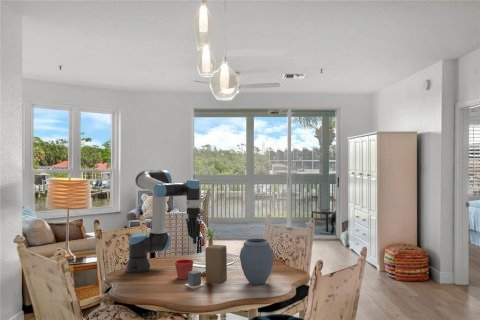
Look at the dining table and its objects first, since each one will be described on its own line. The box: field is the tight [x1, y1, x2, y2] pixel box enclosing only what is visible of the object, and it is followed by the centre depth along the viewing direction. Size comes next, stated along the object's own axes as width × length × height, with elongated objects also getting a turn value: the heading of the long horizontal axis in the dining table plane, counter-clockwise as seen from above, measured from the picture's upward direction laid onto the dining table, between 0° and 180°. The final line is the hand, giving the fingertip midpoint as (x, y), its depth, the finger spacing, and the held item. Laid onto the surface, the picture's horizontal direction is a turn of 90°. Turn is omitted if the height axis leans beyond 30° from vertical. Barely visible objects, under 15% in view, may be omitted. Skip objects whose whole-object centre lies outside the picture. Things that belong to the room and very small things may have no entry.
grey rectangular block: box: [187, 270, 202, 286], centre depth 234 cm, size 5×5×7 cm
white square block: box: [184, 282, 206, 289], centre depth 234 cm, size 8×8×7 cm
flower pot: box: [174, 258, 194, 280], centre depth 252 cm, size 11×11×10 cm
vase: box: [239, 238, 275, 286], centre depth 237 cm, size 20×20×24 cm
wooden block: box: [204, 244, 228, 284], centre depth 244 cm, size 10×10×20 cm
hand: (193, 249), depth 235 cm, fingers closed
